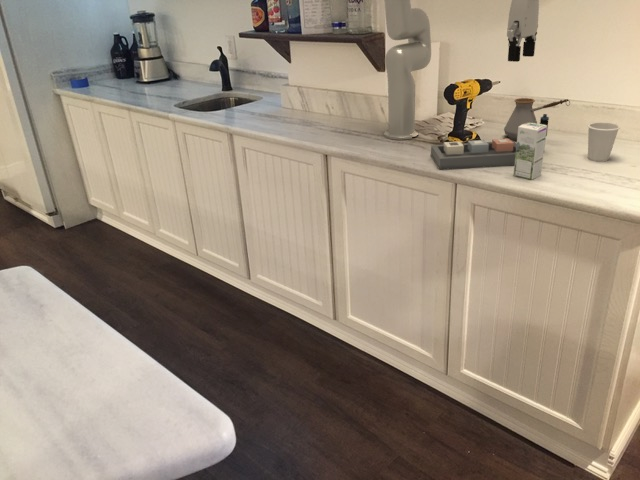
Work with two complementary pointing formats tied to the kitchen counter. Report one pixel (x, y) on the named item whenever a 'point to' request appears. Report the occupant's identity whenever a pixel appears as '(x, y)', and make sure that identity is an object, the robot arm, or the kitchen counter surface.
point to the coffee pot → (524, 115)
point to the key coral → (502, 145)
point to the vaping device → (544, 121)
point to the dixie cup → (601, 140)
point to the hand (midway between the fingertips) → (521, 58)
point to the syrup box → (530, 150)
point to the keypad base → (472, 158)
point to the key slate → (478, 146)
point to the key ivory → (453, 148)
